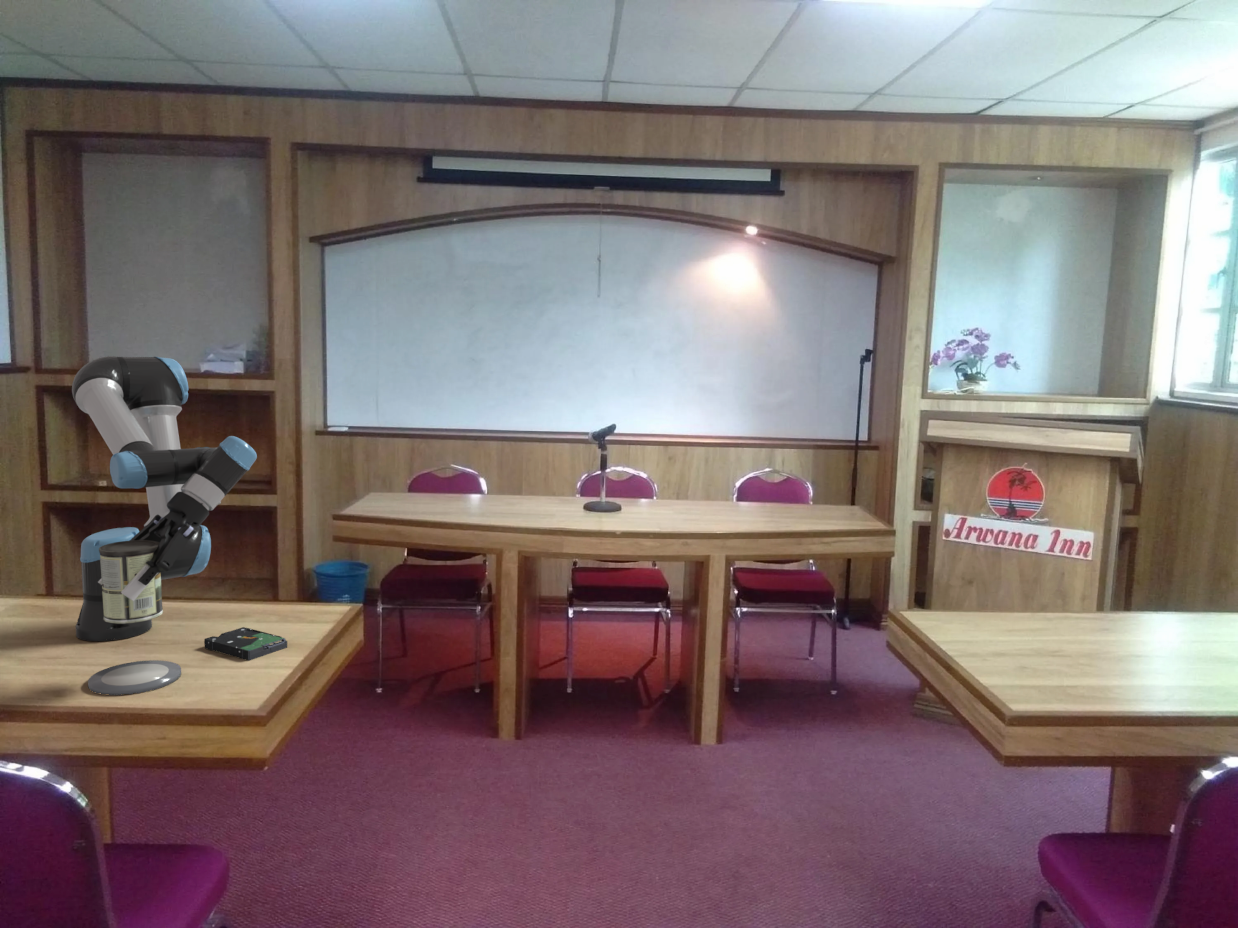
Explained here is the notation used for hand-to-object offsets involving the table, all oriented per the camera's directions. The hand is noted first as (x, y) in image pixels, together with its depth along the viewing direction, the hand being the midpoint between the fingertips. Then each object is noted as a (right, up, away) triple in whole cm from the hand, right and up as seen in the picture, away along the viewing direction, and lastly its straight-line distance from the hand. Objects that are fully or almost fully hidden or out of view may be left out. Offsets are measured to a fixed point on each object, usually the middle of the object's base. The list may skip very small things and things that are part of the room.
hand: (115, 591), depth 163 cm
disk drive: (+15, -17, +24) cm, 33 cm away
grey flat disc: (+1, -18, +5) cm, 19 cm away
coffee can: (+2, -5, +3) cm, 6 cm away
